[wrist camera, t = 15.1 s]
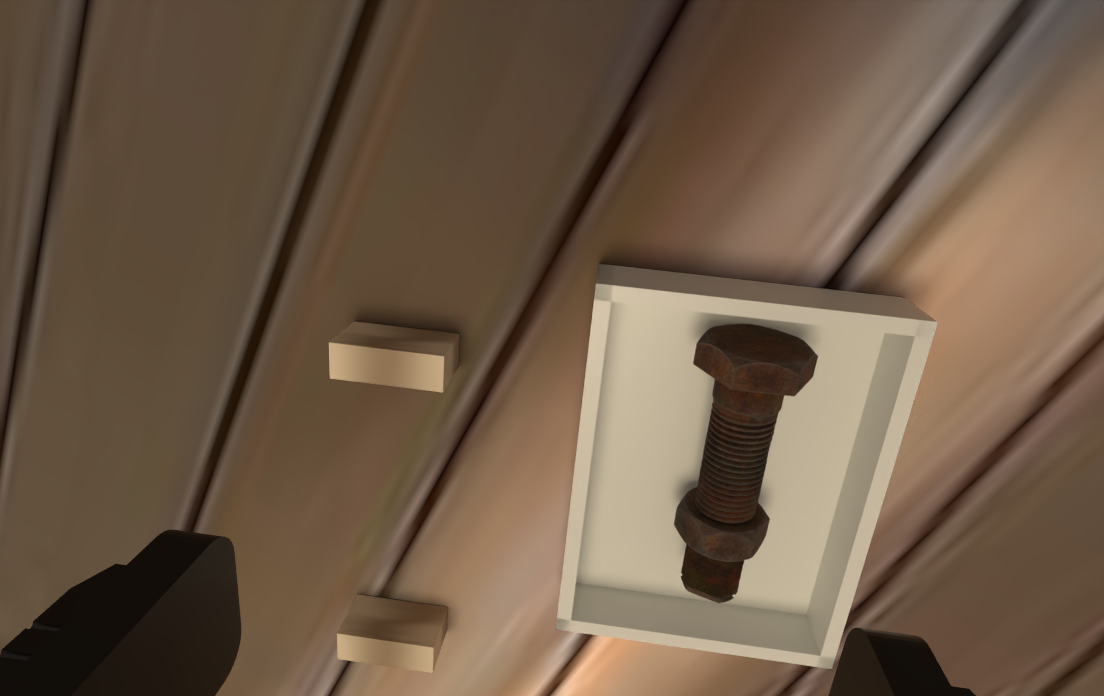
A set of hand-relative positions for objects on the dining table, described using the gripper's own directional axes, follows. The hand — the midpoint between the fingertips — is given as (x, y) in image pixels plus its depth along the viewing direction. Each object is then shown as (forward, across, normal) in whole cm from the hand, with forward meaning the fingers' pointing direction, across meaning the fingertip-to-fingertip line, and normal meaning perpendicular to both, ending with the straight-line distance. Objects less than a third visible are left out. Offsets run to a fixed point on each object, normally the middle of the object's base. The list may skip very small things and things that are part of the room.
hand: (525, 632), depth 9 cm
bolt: (+28, -8, +11) cm, 31 cm away
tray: (+28, -8, +12) cm, 32 cm away
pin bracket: (+28, +10, +17) cm, 34 cm away
